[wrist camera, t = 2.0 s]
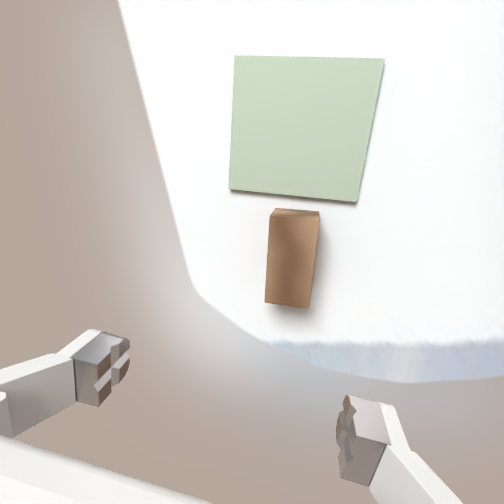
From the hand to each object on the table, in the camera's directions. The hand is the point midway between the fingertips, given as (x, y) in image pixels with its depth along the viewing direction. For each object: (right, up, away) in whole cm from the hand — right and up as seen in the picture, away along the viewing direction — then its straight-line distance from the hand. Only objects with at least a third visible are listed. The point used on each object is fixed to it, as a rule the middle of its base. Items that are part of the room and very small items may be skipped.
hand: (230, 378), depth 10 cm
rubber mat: (+5, +16, +17) cm, 24 cm away
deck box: (+5, +5, +21) cm, 22 cm away
